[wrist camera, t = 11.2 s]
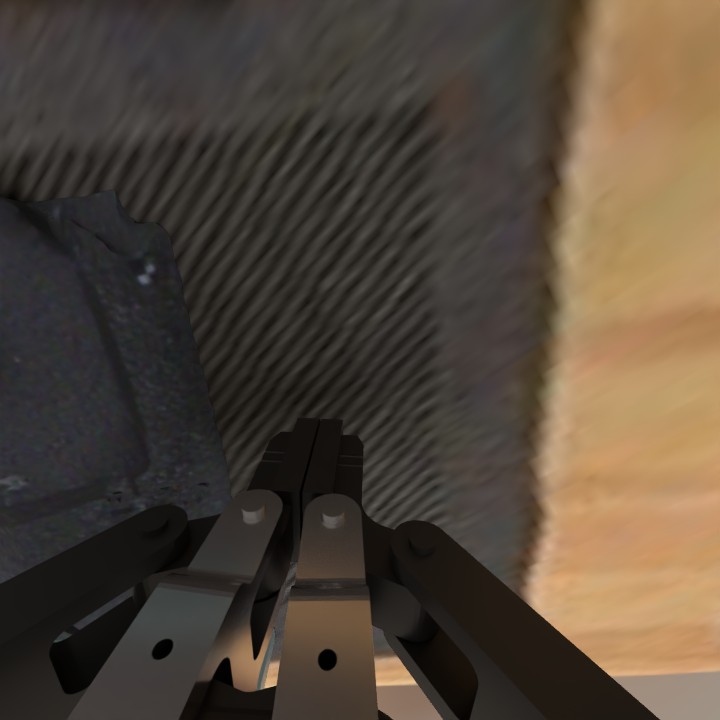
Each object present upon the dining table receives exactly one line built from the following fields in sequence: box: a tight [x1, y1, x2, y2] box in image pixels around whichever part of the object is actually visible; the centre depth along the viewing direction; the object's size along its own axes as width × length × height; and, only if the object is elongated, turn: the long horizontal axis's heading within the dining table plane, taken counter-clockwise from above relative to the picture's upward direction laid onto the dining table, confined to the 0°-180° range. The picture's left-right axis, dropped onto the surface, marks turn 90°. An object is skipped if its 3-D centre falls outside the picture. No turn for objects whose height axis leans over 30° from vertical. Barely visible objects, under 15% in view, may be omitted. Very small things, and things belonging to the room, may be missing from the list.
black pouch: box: [0, 190, 233, 640], centre depth 15 cm, size 15×22×5 cm
